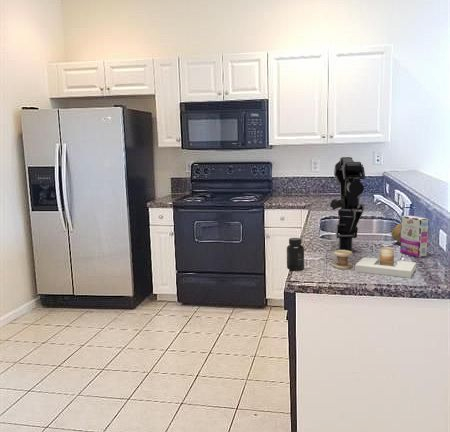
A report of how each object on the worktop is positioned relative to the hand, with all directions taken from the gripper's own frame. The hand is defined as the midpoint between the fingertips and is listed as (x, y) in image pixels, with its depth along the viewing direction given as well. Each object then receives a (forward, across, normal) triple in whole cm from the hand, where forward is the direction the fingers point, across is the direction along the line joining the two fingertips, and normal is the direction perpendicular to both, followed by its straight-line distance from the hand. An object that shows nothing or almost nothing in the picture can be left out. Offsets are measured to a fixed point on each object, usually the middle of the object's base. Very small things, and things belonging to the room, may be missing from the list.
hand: (351, 230), depth 198 cm
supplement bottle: (+13, +22, -16) cm, 30 cm away
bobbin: (+12, +12, 0) cm, 17 cm away
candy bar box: (+13, -19, +22) cm, 32 cm away
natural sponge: (+13, -37, +14) cm, 41 cm away
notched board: (+12, +10, +16) cm, 23 cm away
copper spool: (+12, +8, +16) cm, 22 cm away
